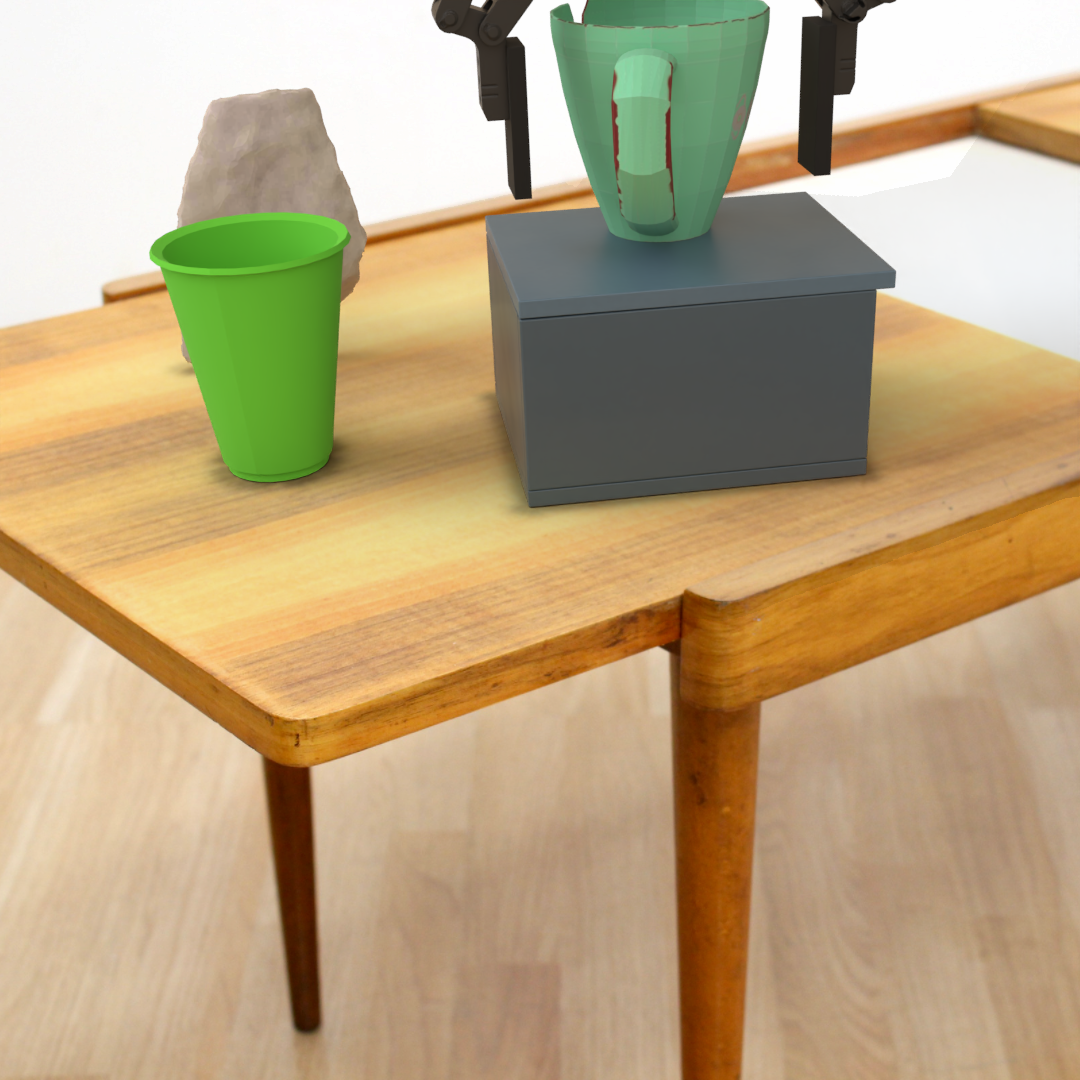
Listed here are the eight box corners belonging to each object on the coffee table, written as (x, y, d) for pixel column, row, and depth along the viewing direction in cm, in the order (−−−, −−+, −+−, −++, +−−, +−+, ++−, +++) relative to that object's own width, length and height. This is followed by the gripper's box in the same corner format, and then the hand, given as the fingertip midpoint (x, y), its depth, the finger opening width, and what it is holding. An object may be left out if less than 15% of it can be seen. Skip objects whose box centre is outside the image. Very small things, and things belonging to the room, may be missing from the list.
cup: (396, 428, 78) (376, 213, 73) (335, 507, 70) (308, 272, 65) (230, 419, 80) (199, 209, 75) (152, 495, 72) (112, 266, 67)
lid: (805, 206, 79) (806, 191, 79) (895, 288, 67) (896, 270, 67) (485, 231, 77) (484, 215, 77) (519, 319, 65) (518, 301, 65)
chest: (784, 369, 83) (790, 207, 79) (866, 474, 71) (877, 289, 67) (495, 396, 81) (485, 231, 77) (529, 507, 69) (519, 320, 65)
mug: (568, 200, 79) (562, -7, 74) (763, 199, 77) (769, -11, 73) (529, 292, 66) (519, 49, 61) (762, 293, 65) (769, 45, 60)
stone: (181, 373, 86) (137, 99, 79) (195, 352, 89) (154, 86, 82) (373, 368, 86) (346, 91, 79) (381, 347, 89) (356, 79, 82)
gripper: (937, -366, 65) (905, 141, 75) (343, -340, 63) (389, 181, 72) (1009, -380, 59) (963, 178, 68) (348, -351, 56) (398, 224, 66)
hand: (668, 181), depth 70 cm, fingers open, 13 cm apart
